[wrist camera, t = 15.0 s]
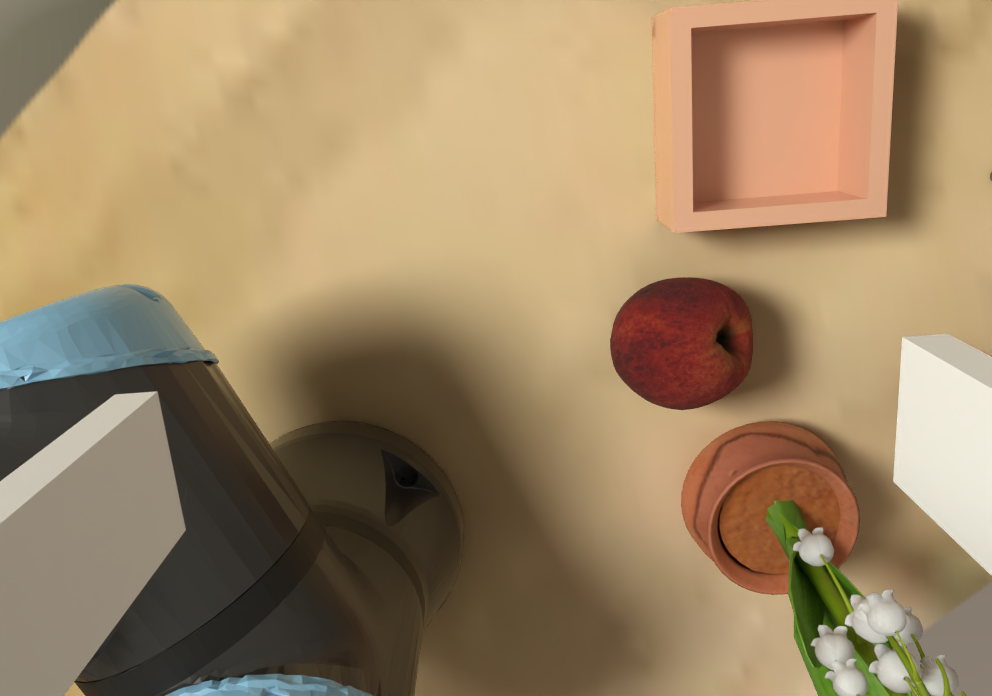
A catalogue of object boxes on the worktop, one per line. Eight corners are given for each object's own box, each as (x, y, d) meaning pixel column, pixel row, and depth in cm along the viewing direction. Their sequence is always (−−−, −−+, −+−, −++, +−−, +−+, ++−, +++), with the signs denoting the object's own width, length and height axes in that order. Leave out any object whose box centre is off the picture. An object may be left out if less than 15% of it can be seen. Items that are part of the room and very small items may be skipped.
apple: (737, 374, 51) (779, 422, 43) (611, 394, 51) (630, 445, 44) (726, 256, 49) (768, 284, 41) (595, 277, 49) (612, 310, 42)
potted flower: (640, 423, 52) (762, 699, 28) (793, 359, 51) (1059, 591, 27) (708, 576, 55) (870, 944, 31) (853, 520, 54) (1140, 856, 30)
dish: (656, 220, 48) (674, 232, 43) (652, 18, 45) (670, 7, 40) (847, 205, 48) (886, 216, 43) (855, 0, 45) (898, -12, 40)
